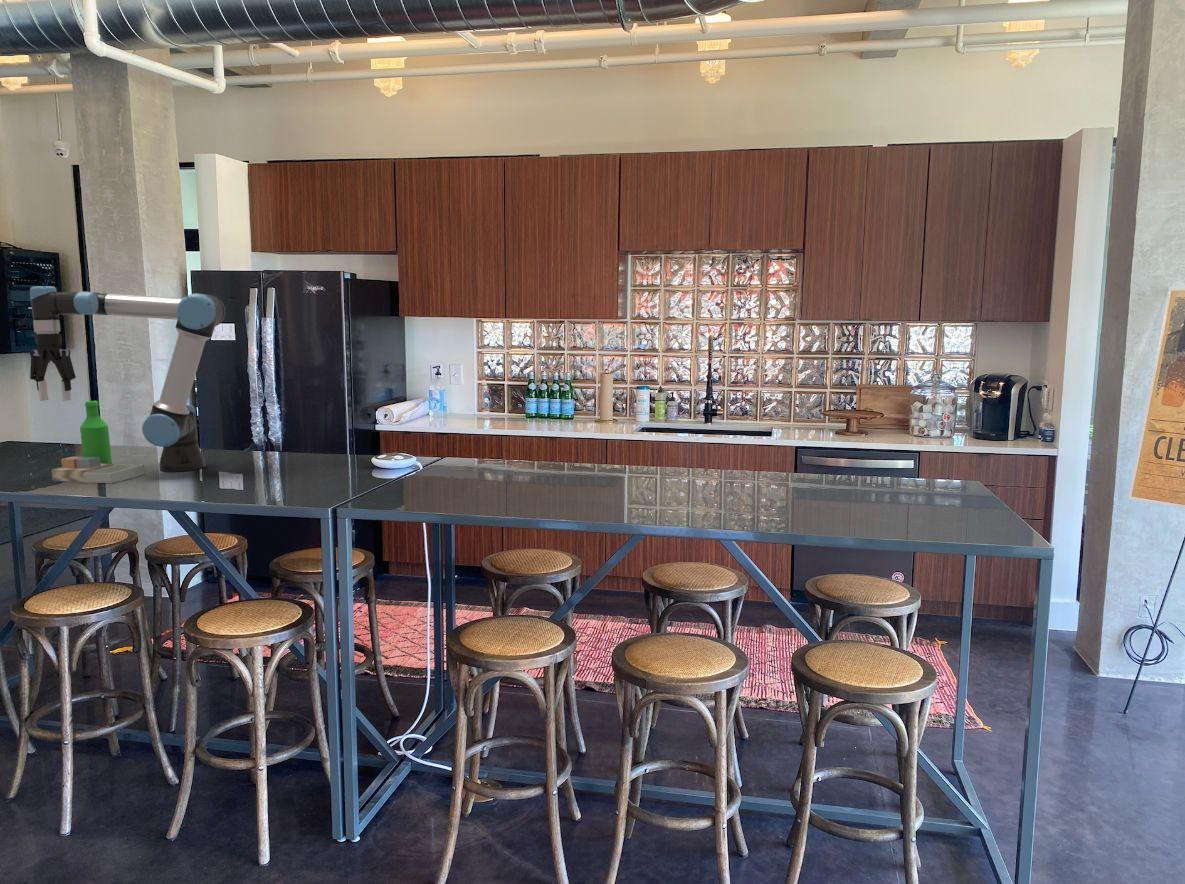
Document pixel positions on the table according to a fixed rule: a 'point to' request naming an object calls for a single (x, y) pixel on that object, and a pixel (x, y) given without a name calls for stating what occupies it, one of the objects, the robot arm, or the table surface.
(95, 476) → the box
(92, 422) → the bottle
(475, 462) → the table surface
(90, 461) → the tile slate
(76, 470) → the bench plate
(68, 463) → the tile terracotta
